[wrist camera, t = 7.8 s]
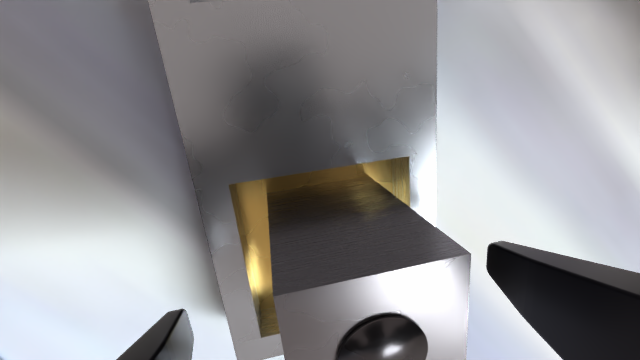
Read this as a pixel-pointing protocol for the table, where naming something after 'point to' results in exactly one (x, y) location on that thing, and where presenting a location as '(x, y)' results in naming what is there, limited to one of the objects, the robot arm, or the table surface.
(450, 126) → the table surface
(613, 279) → the robot arm
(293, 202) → the metal drawer with knob
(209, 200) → the metal tray
